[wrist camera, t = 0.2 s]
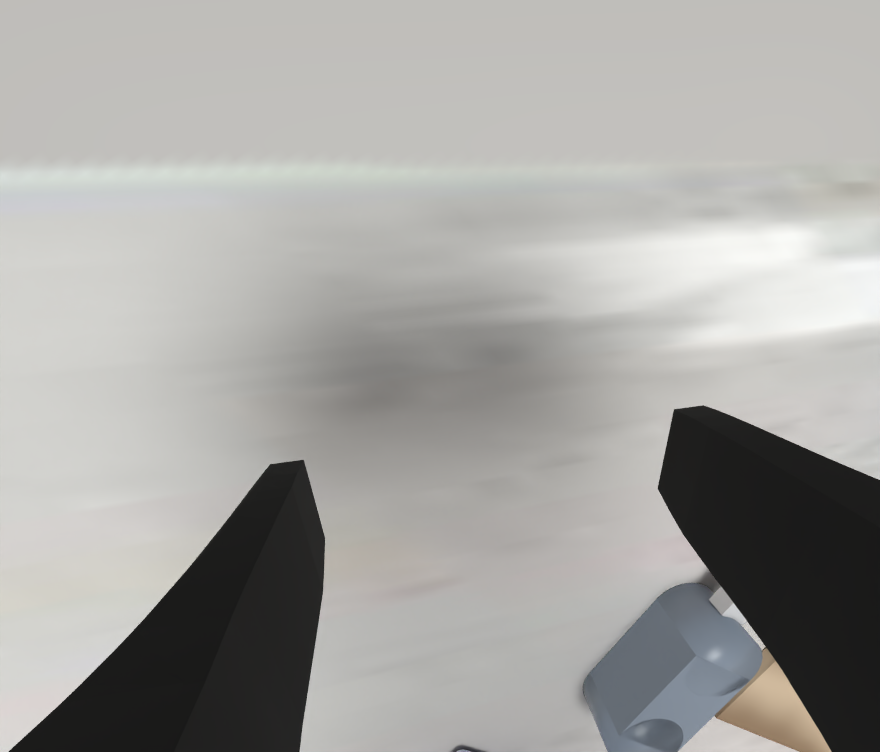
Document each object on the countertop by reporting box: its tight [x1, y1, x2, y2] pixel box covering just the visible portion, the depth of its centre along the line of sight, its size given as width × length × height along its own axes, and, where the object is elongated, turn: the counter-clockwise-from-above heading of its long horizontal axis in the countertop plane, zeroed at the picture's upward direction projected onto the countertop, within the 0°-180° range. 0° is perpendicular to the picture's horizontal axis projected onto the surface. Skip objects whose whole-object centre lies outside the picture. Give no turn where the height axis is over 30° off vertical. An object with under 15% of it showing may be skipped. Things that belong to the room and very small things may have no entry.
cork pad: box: [715, 648, 831, 752], centre depth 29 cm, size 12×12×1 cm
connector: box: [583, 583, 763, 752], centre depth 25 cm, size 12×4×4 cm, turn 148°
